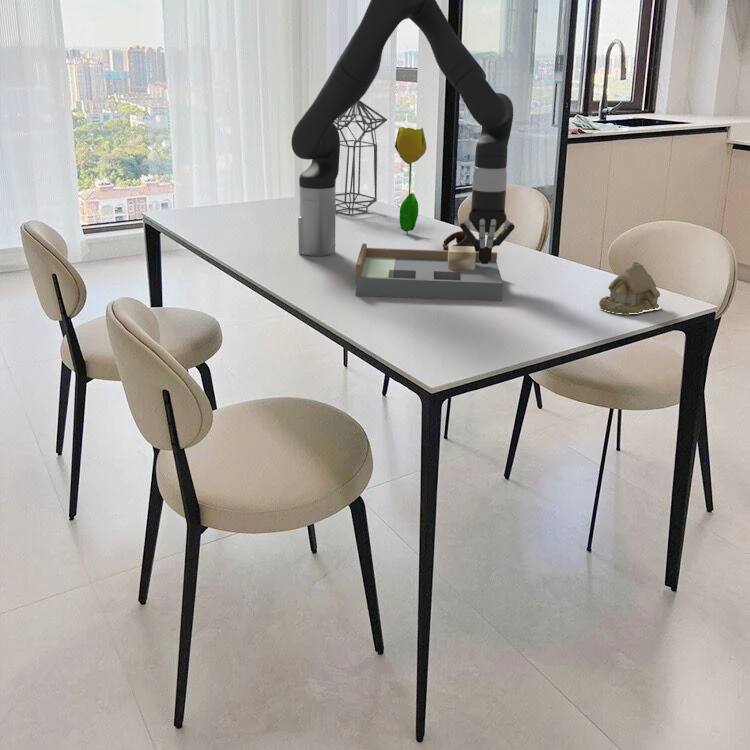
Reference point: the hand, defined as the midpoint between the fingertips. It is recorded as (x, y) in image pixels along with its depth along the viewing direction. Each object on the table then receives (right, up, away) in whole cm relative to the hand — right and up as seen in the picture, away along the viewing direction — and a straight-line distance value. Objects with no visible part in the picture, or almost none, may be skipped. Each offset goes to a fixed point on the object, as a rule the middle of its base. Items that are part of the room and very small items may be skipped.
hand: (484, 263), depth 195 cm
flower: (-16, +15, +49) cm, 54 cm away
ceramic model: (+29, -12, -13) cm, 34 cm away
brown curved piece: (-3, +4, +24) cm, 24 cm away
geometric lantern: (-32, +26, +77) cm, 88 cm away
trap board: (-13, -5, -1) cm, 14 cm away
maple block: (-5, -1, 0) cm, 6 cm away
